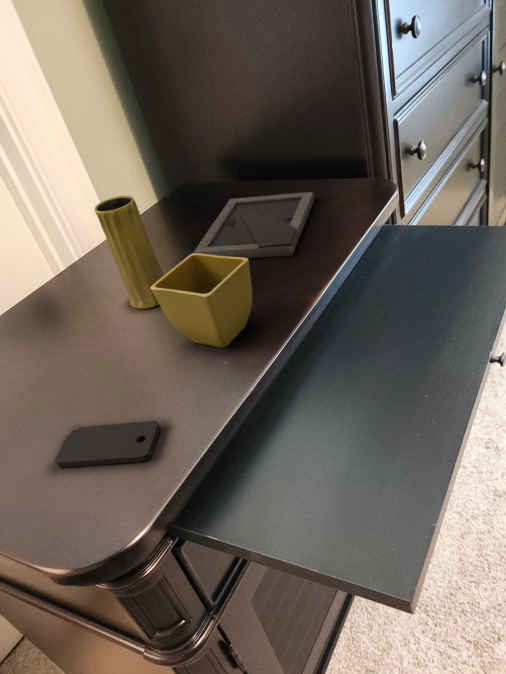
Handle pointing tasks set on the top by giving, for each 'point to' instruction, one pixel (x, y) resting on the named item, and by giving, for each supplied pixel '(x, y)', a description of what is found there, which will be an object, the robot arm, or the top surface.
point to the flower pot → (207, 297)
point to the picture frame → (258, 226)
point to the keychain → (108, 444)
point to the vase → (130, 249)
